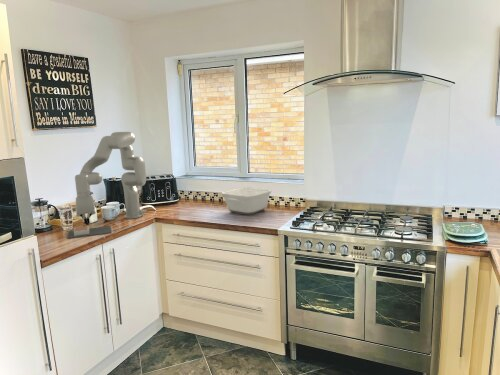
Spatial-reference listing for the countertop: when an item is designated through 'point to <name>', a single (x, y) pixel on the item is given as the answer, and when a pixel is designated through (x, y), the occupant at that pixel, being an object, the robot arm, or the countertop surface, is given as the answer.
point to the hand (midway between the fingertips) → (87, 224)
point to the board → (81, 230)
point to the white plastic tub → (246, 200)
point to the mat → (91, 232)
